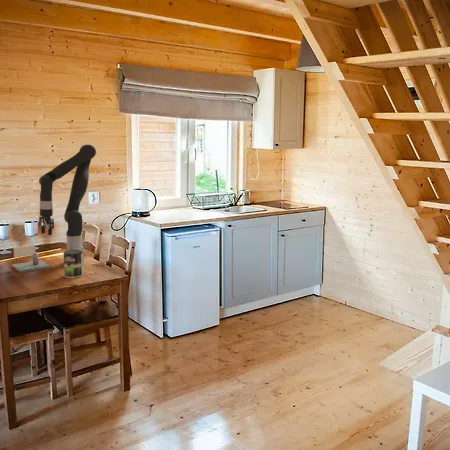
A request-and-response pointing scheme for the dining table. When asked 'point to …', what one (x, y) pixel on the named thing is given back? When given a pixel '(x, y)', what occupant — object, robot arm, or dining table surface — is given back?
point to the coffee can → (73, 263)
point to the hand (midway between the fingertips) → (46, 234)
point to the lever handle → (26, 252)
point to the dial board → (30, 266)
